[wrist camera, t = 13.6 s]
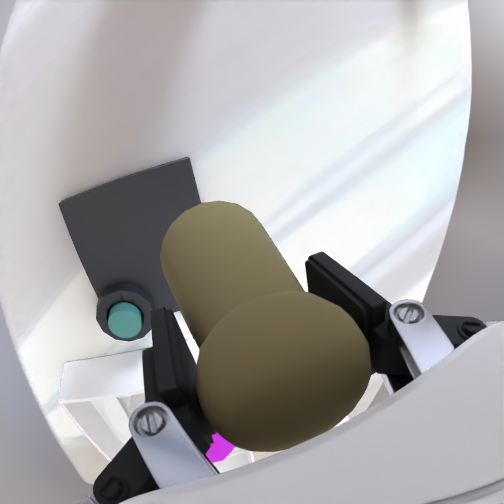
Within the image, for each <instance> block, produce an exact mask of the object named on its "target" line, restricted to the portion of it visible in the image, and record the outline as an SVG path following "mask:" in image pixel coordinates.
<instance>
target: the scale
mask: <svg viewBox="0 0 504 504" xmlns="http://www.w3.org/2000/svg"><path fill="white" fill-rule="evenodd" d="M199 204H201V201H200V198H199V194H198V190H197V186H196V182H195V178H194V174H193V170H192V166H191V162H190V158H188V157H186V158H182V159H179V160H176V161H172V162H169V163H166V164H162V165H159V166H156V167H153V168H149V169H146V170H143V171H140V172H137V173H134V174H131V175H128V176H125V177H123V178H120V179H117V180H114V181H111V182H109V183H106V184H103V185H101V186H98V187H95V188H93V189H90V190H88V191H85V192H82V193H80V194H77V195H75V196H73V197H70V198H68V199H65V200H63V201H61V202H60V203H59V207H60V209H61V212H62V215H63V218H64V220H65V223H66V226H67V228H68V231H69V233H70V236H71V239H72V241H73V243H74V246H75V248H76V251H77V253H78V255H79V258H80V260H81V262H82V264H83V267H84V269H85V271H86V273H87V275H88V278H89V280H90V282H91V284H92V286H93V288H94V290H95V292H96V294H97V296H98V298H99V299H98V304H97V312H96V320H97V321H98V323H99V325H100V327H101V329H102V330H103V332H105V333H106V334H108V335H109V336H111V337H113V338H114V339H116V340H123V341H133V340H136V339H140V338H143V337H144V336H145V335H146V334H147V333H148V332H149V331H150V330H151V329H152V328H151V311H153V310H156V309H159V308H162V307H165V308H166V310H168V309H172V311H173V313H174V312H177V311H180V309H179V307H178V305H177V303H176V301H175V298H174V296H173V294H172V292H171V290H170V287H169V285H168V283H167V281H166V278H165V276H164V274H163V270H162V265H161V259H160V254H161V248H162V242H163V238H164V237H165V235H166V233H167V231H168V229H169V227H170V226H171V224H172V223H173V222H174V221H175V220H176V219H177V218H178V217H179V216H180V215H181V214H182V213H184V212H185V211H186V210H188V209H191V208H193V207H195V206H197V205H199ZM119 302H129V303H132V304H134V305H135V306H136V307H137V308H138V309H139V310H140V312H141V330H140V332H139V333H138V334H137V335H136V336H134V337H131V338H121V337H118V336H116V335H115V334H114V333H112V331H111V330H110V328H109V326H108V320H109V313H110V310H111V308H112V307H113V306H114V305H115V304H117V303H119Z"/></svg>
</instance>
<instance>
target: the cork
mask: <svg viewBox="0 0 504 504" xmlns="http://www.w3.org/2000/svg"><path fill="white" fill-rule="evenodd" d="M160 259H161V265H162V270H163V274H164V276H165V278H166V281H167V283H168V285H169V287H170V290H171V292H172V294H173V296H174V298H175V301H176V303H177V305H178V307H179V309H180V311H181V313H182V316H183V318H184V320H185V322H186V324H187V326H188V328H189V330H190V332H191V334H192V336H193V338H194V340H195V342H196V344H197V346H198V348H199V355H198V359H197V364H196V370H195V380H194V383H195V387H196V391H197V395H198V399H199V403H200V406H201V410H202V413H203V415H204V417H205V419H206V420H207V422H208V423H209V425H210V426H211V428H212V429H213V430H215V431H216V432H217V433H218V434H219V435H220V436H221V437H222V438H223V439H225V440H226V441H228V442H229V443H231V444H232V445H234V446H235V447H238V448H241V449H244V450H248V451H258V452H276V451H281V450H286V449H289V448H292V447H294V446H296V445H298V444H301V443H303V442H305V441H307V440H310V439H312V438H314V437H316V436H318V435H320V434H322V433H324V432H326V431H328V430H330V429H332V428H334V427H335V426H336V425H338V424H339V423H340V422H341V421H342V420H343V419H344V418H345V417H346V416H347V415H348V414H349V413H350V412H351V411H352V410H353V409H354V408H355V406H356V405H357V403H358V402H359V400H360V399H361V397H362V396H363V394H364V392H365V390H366V389H367V386H368V383H369V380H370V377H371V361H370V351H369V344H368V342H367V340H366V338H365V336H364V335H363V333H362V331H361V329H360V328H359V327H358V325H357V324H356V322H355V321H354V320H353V318H352V317H351V316H350V315H349V314H348V313H346V312H345V311H344V310H343V309H342V308H341V307H340V306H337V305H335V304H333V303H331V302H329V301H327V300H325V299H323V298H321V297H318V296H316V295H314V294H312V293H310V292H305V291H304V290H303V288H302V286H301V285H300V283H299V282H298V280H297V279H296V277H295V275H294V274H293V272H292V271H291V269H290V268H289V266H288V264H287V263H286V261H285V260H284V258H283V257H282V255H281V254H280V252H279V250H278V249H277V247H276V246H275V244H274V243H273V241H272V240H271V238H270V237H269V235H268V234H267V232H266V230H265V229H264V227H263V226H262V224H261V223H260V222H259V221H258V220H257V218H256V217H255V216H254V215H253V214H252V212H250V211H248V210H247V209H245V208H243V207H241V206H240V205H238V204H234V203H229V202H224V201H214V202H207V203H201V204H199V205H197V206H195V207H193V208H191V209H188V210H186V211H185V212H184V213H182V214H181V215H180V216H179V217H178V218H177V219H176V220H175V221H174V222H173V223H172V224H171V226H170V227H169V229H168V231H167V233H166V235H165V237H164V238H163V242H162V248H161V254H160Z"/></svg>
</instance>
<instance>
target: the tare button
mask: <svg viewBox="0 0 504 504" xmlns="http://www.w3.org/2000/svg"><path fill="white" fill-rule="evenodd" d="M108 326H109V328H110V330H111V331H112V333H114V334H115V335H116V336H118V337H121V338H131V337H134V336H136V335H137V334H138V333H139V332H140V330H141V312H140V310H139V309H138V308H137V307H136V306H135V305H134V304H132V303H129V302H119V303H117V304H115V305H114V306H113V307H112V308H111V310H110V313H109V320H108Z"/></svg>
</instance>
